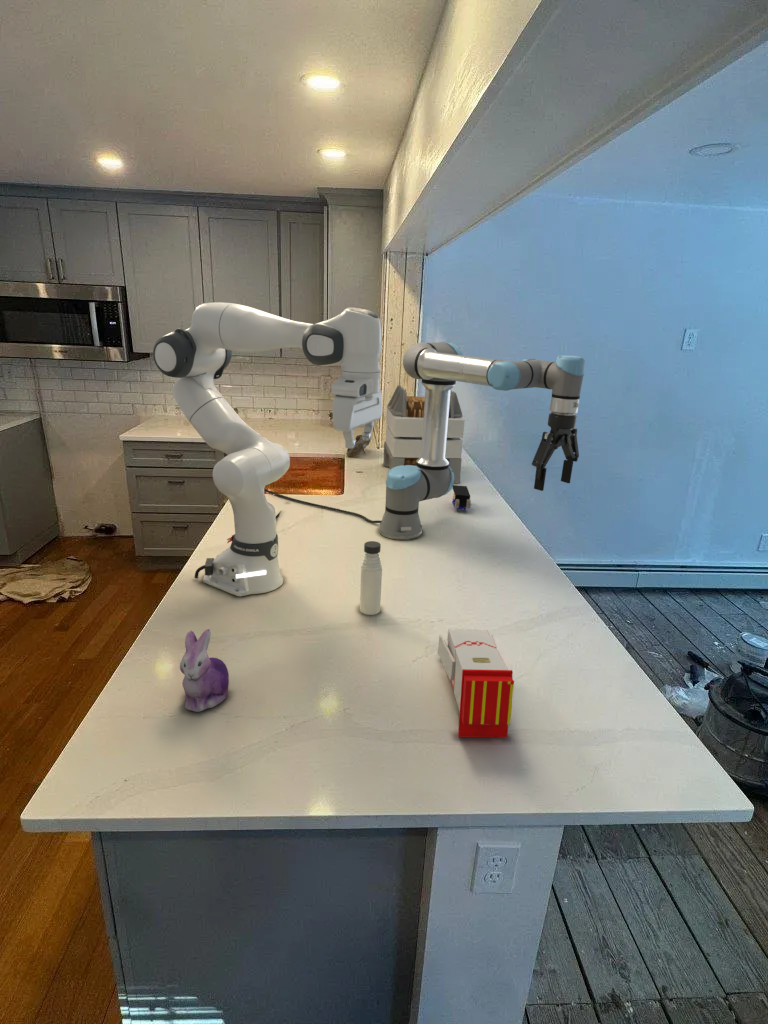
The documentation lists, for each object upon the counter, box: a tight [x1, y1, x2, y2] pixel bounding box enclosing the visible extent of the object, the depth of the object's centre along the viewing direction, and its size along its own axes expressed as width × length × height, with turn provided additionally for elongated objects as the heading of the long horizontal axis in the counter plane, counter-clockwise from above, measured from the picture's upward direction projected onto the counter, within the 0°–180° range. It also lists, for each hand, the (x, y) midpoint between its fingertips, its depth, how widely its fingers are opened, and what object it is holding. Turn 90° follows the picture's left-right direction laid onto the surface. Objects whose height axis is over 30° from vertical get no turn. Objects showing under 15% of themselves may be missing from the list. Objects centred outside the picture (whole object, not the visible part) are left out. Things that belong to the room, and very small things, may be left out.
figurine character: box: [451, 484, 472, 513], centre depth 228 cm, size 7×8×15 cm
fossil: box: [346, 434, 372, 458], centre depth 305 cm, size 22×10×15 cm
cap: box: [363, 540, 381, 554], centre depth 143 cm, size 4×4×2 cm
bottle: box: [359, 552, 383, 616], centre depth 146 cm, size 5×5×18 cm
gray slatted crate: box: [383, 384, 465, 484], centre depth 268 cm, size 34×33×41 cm
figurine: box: [179, 628, 230, 713], centre depth 110 cm, size 9×10×15 cm
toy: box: [437, 628, 515, 738], centre depth 117 cm, size 12×13×30 cm
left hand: (358, 443), depth 133 cm, fingers open, 8 cm apart
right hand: (552, 485), depth 166 cm, fingers open, 13 cm apart
